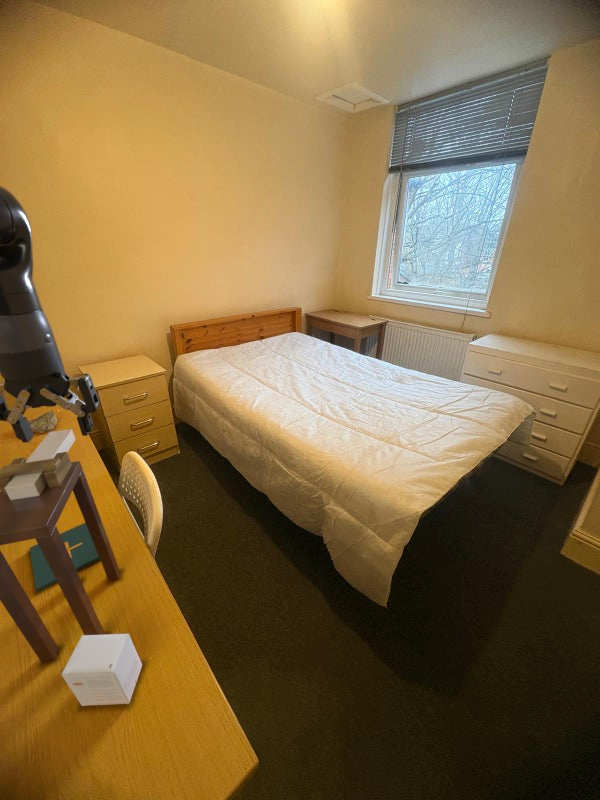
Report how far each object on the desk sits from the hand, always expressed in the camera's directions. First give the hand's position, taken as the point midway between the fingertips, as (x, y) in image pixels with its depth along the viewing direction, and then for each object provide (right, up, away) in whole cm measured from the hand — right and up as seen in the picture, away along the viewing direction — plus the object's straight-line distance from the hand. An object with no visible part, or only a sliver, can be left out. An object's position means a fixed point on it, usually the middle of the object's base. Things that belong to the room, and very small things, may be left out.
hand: (58, 436), depth 54 cm
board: (-16, -32, +25) cm, 43 cm away
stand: (-4, -38, +13) cm, 40 cm away
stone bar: (-6, -6, +5) cm, 10 cm away
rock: (-65, -5, +77) cm, 101 cm away
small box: (+8, -44, +2) cm, 45 cm away
